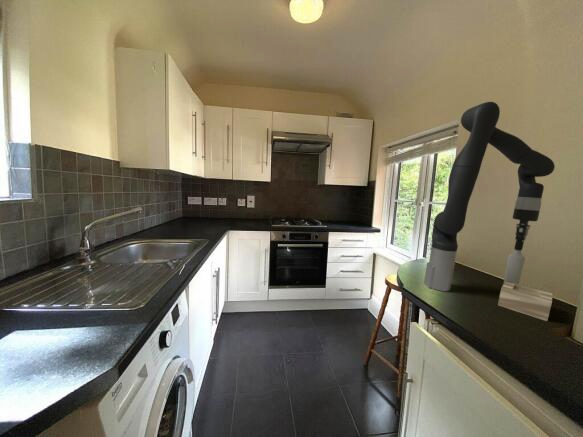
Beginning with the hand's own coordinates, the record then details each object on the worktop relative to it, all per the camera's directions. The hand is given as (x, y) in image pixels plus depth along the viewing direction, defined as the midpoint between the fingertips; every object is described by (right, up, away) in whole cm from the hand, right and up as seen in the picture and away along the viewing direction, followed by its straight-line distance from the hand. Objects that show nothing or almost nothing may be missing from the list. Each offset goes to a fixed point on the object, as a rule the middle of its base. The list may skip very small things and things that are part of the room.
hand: (518, 249), depth 101 cm
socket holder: (-8, -21, -10) cm, 24 cm away
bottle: (-1, -19, +3) cm, 20 cm away
